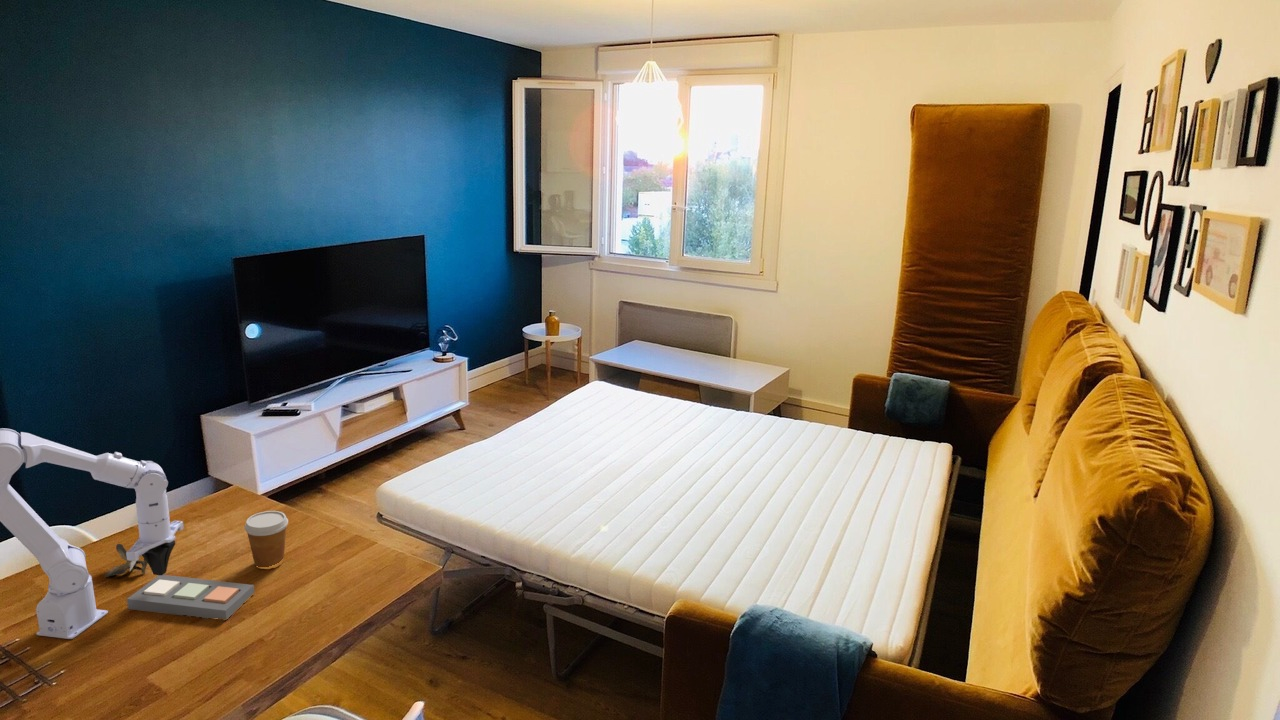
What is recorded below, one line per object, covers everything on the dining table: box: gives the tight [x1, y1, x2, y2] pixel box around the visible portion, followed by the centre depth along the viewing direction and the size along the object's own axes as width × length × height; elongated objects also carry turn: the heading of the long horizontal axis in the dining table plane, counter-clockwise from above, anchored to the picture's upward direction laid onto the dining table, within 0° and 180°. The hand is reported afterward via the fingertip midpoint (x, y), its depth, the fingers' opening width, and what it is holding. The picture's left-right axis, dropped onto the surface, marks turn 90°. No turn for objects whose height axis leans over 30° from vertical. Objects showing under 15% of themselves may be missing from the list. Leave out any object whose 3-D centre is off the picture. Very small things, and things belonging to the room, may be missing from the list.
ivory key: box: [144, 579, 180, 597], centre depth 164 cm, size 5×5×3 cm
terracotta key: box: [204, 586, 239, 604], centre depth 163 cm, size 5×5×3 cm
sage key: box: [174, 583, 209, 600], centre depth 163 cm, size 5×5×3 cm
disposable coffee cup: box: [244, 510, 289, 567], centre depth 179 cm, size 10×10×12 cm
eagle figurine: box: [104, 543, 149, 578], centre depth 172 cm, size 8×7×9 cm
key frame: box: [126, 574, 255, 620], centre depth 164 cm, size 10×23×2 cm, turn 85°
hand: (159, 573), depth 163 cm, fingers closed
